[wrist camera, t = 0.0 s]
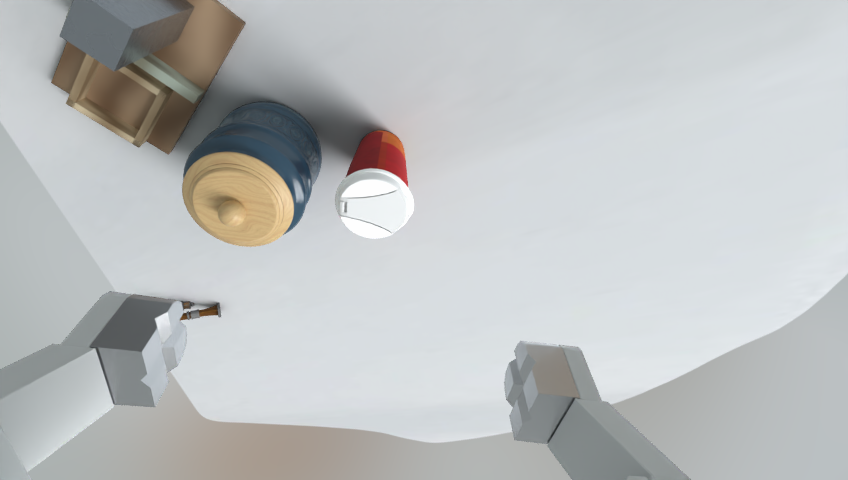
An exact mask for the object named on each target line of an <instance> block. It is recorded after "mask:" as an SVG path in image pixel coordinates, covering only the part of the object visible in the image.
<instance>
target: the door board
mask: <svg viewBox="0 0 848 480" xmlns="http://www.w3.org/2000/svg"><path fill="white" fill-rule="evenodd" d="M187 1H188V2H189V3H191V4H192V5H193V6H195V8H194V10H193V12H192V14H191V16H190V18H189V19H188V21H187V23H186V25H185V27H184V29H183V31H182V33H181V35H180V37H179V39H178V41H177V42H174V43H172V44H170V45H168V46H166V47H164V48H162V49H160V50H158V51H156V52H154V53H152V54H150V55H148V56H146V57H143V58H141V59H139V60H137V61H135V62H133V63H131V64H129V65H127V66H125V67H123V68H121V69H119V70H117V71H115V72H114V71H112V70H111V69H109V68H108V67H106V66H105V65H103V64H102V63H100V62H98V61H97V60H95V59H94V58H92V57H91V56H89V55H88V54H86V53H85V52H83V51H82V50H80V49H79V48H77V47H76V46H74V45H72V44H71V43H69V42H68V41H67V43H66V46H65V48H64V51H63V54H62V56H61V59H60V61H59V64H58V66H57V69H56V72H55V74H54V77H53V79H52V82H51V83H53V84H54V85H56V86H58V87H59V88H61V89H62V90H64V91H66V92H67V93H69V94H70V95H69V97H68V100H67V102H66V104H67V105H69V106H71V107H72V108H74V109H76V110H77V111H79V112H81V113H82V114H84V115H86V116H87V117H89V118H91V119H92V120H94V121H96V122H97V123H99V124H101V125H102V126H104V127H106V128H107V129H109V130H111V131H112V132H114V133H115V134H117V135H119V136H120V137H122V138H124V139H125V140H127V141H129V142H130V143H132V144H134V145H135V146H137V147H140V146H141V145H142V144H144V143H145V142H146V141H147V142H149V143H150V144H152V145H154V146H155V147H157V148H159V149H160V150H162V151H163V152H165V153H167V154H169V153H170V152H171V151H172V150H173V148H174V146H175V145H176V143H177V141H178V139H179V138H180V136H181V134H182V132H183V131H184V129H185V127H186V126H187V124H188V122H189V120H190V119H191V117H192V115H193V113H194V112H195V110H196V108H197V107H198V105H199V103H200V101H201V100H202V98H203V96H204V94H205V93H206V91H207V89H208V88H209V86H210V84H211V82H212V81H213V79H214V77H215V75H216V74H217V72H218V70H219V69H220V67H221V65H222V63H223V62H224V60H225V58H226V56H227V55H228V53H229V51H230V50H231V48H232V46H233V44H234V43H235V41H236V39H237V37H238V36H239V34H240V32H241V31H242V29H243V27H244V25H245V24H246V23H245V22H244V21H243V20H242V19H240V18H239V17H238V16H236V15H235V14H234V13H233V12H231V11H230V10H229V9H227V8H226V7H225V6H224V5H222V4H221V3H220V2H218V1H217V0H187ZM69 10H70V8H69ZM68 13H69V11H68ZM67 15H68V14H67ZM66 18H67V16H66Z"/></svg>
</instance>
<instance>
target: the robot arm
mask: <svg viewBox="0 0 848 480" xmlns="http://www.w3.org/2000/svg"><path fill="white" fill-rule="evenodd" d="M183 313H184V312H183V307H182V302H180V301H178V300H171V299H164V298H157V297H150V296H143V295H136V294H126V293H119V292H112V291H110V292H108V293H106V294H104V295H102V296H101V297H100V299H99V300H98V301H97V302H96V303H95V304H94V306H93V307H92V308H91V309H90V310H89V312H88V313H87V314H86V315H85V316H84V317H83V319H82V320H81V321H80V322H79V324H77V326H76V327H75V328H74V329H73V330H72V331H71V333H70V334H69V335H68V336H67V337H66V338H65V340H64V341H63V342H62V343H61V344H60V345H59V344H52V345H50V346H48V347H45V348H44V349H41V350H39V351H37V352H35V353H33V354H31V355H29V356H27V357H25V358H23V359H21V360H18V361H17V362H14V363H12V364H10V365H8V366H6V367H4V368H2V369H0V480H32V479H31V477H30V476H29V474H28V471H29V470H31V469H32V468H33V467H35V466H36V465H37V464H39V463H40V462H41V461H43V460H44V459H45V458H47V457H48V456H49V455H51V454H52V453H53V452H55V451H56V450H57V449H59V448H60V447H61V446H63V445H64V444H65V443H66V442H68V441H69V440H71V439H72V438H73V437H75V436H76V435H77V434H79V433H80V432H81V431H82V430H84V429H85V428H86V427H88V426H89V425H90V424H91V423H93V422H94V421H95V420H97V419H98V418H100V417H101V416H102V415H104V414H105V413H106V412H107V411H109V410H110V409H112V408H113V407H114V404H115V405H130V406H145V407H156V405H157V403H158V401H159V399H160V397H161V396H162V394H163V392H164V390H165V388H166V386H167V385H168V383H169V381H168V376H167V372H169V371H171V370H172V369H174V368H175V367H177V366H178V364H179V362H180V360H181V358H182V356H183V353H184V350H185V346H186V341H187V331H186V326H185V325H184V324H183V323H182V322H181V321H180V318H181V317H182V315H183ZM515 356H516V359H515V360H513V361H511V362H510V363H509V365H508V367H507V370H506V374H505V382H504V385H505V395H506V400H507V401H508V402H509V403H510V404H511V406H512V407H513V409H512V411H511V413H510V421H511V426H512V431H513V435H514V440H517V441H526V442H534V443H542V444H548V445H547V446H548V448H549V449H550V450H551V452H552V453H553V454H554V456H555V457H556V458H557V460H558V461H559V463H560V464H561V465H562V467H563V468H564V469H565V471H566V472H567V473H568V475H569V476H570V478H571V479H572V480H691V479H690V478H689V477H688V476H687V475H686V474H684V473H683V472H682V471H681V470H680V469H679V468H678V467H677V466H676V465H675V464H674V463H673V462H672V461H670V460H669V459H668V458H667V457H666V456H665V455H664V454H663V453H662V452H661V451H660V450H658V448H656V446H654V445H653V444H652V443H651V442H650V441H649V440H648V439H647V438H646V437H645V436H644V435H643V434H642V433H640V432H639V431H638V430H637V429H636V428H635V427H634V426H633V425H632V424H631V423H630V422H629V421H628V420H627V419H625V418H624V417H623V416H622V415H621V414H620V413H619V412H618V411H617V410H616V409H615V408H614V407H613V406H612V405H610V404H609V403H608V402H604V401H602V400H601V397H600V395H599V392H598V390H597V387H596V385H595V382H594V380H593V378H592V375H591V373H590V370H589V368H588V365H587V363H586V360H585V358H584V355H583V353H582V351H581V349H580V348H579V347H573V346H564V345H555V344H546V343H536V342H527V341H520V342H519V343H518V344H517V346H516V349H515Z"/></svg>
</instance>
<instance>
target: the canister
mask: <svg viewBox="0 0 848 480" xmlns="http://www.w3.org/2000/svg"><path fill="white" fill-rule="evenodd" d="M321 161H322V156H321V147H320V143H319V140H318V137H317V135H316V133H315V131H314V130H313V128H312V127H311V125H310V124H309V123H308V122H307V121H306V120H305V119H304V118H303V117H302V116H301V115H300V114H298V113H297V112H296V111H294V110H292V109H290V108H288V107H286V106H284V105H281V104H278V103H273V102H254V103H250V104H247V105H244V106H241V107H239V108H237V109H235V110H234V111H232V112H231V113H230V114H229V115H228V116H227V117H226V118H225V119H224V120H223V121H222V123H221V124H220V126H219V127H218V128H217V129H216V130H214V131H213V132H211V133H210V134H209V135H208V136H207V137H206V138H205V139H204V140H203V142H202V143H201V144H200V145H198V146H197V147H196V148H195V149H194V150H193V151H192V152H191V154H190V155H189V157H188V159H187V161H186V164H185V167H184V174H183V186H182V193H183V199H184V203H185V205H186V208H187V210H188V212H189V213H190V215H191V217H192V218H193V219H194V220H195V222H196V223H197V224H198V225H199V226H200V227H201V228H202V229H204V230H205V231H206V232H207V233H209V234H210V235H212V236H214V237H215V238H217V239H219V240H221V241H224V242H227V243H230V244H233V245H238V246H247V247H252V246H261V245H265V244H268V243H271V242H273V241H275V240H277V239H278V238H280V237H281V236H282V235H284V234H286V233H287V232H289V231H290V230H292V229H293V228H294V227H295V226H296V225H297V224H298V222H299V221H300V219H301V218H302V216H303V213H304V210H305V206H306V204H307V203H308V201H309V198H310V195H311V190H312V186H313V184H314V183H315V181H316V179H317V177H318V174H319V172H320V168H321Z"/></svg>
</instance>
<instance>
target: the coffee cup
mask: <svg viewBox="0 0 848 480" xmlns="http://www.w3.org/2000/svg"><path fill="white" fill-rule="evenodd" d="M335 205H336V209H337V212H338V214H339V216H340V218H341V220H342V221H343V223H344V224H345V225H346V227H347V228H348V229H350V230H351V231H352V232H354V233H355V234H357V235H360V236H362V237H366V238H383V237H387V236H390V235H392V234H393V233H394V232H396V231H397V230H398V229H399V228H401V227H402V226H403V225H404V224H405V223H406V222H407V220H408V219H409V217H410V216H411V214H412V213H413V209H414V199H413V196H412V194H411V192H410V191H409V189H408V181H407V170H406V161H405V153H404V148H403V145H402V143H401V141H400V140H399V138H398V137H397V136H395V135H394V134H392V133H390V132H388V131H382V130H379V131H373V132H371V133H369V134H367V135H366V136H365V137H364V138H363V139H362V141H361V143H360V144H359V147H358V149H357V151H356V153H355V156H354V158H353V160H352V162H351V164H350V167H349V170H348V172H347V175H346V178H345V179H344V180H343V181H342V182H341V184H340V185H339V187H338V189H337V192H336V197H335Z"/></svg>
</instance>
